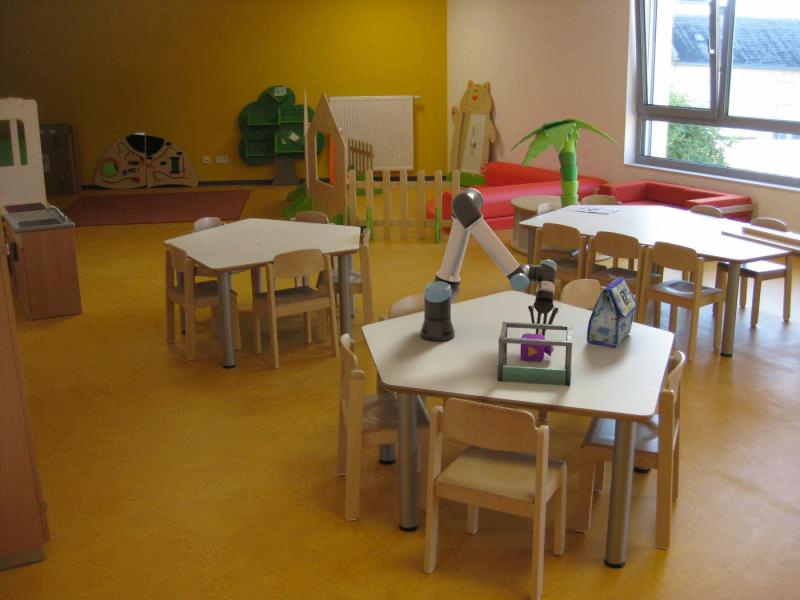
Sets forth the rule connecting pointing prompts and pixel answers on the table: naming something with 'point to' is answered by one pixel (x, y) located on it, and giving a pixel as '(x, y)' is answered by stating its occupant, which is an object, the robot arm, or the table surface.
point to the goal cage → (530, 372)
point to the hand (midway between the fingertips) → (539, 343)
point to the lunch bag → (612, 315)
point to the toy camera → (534, 349)
